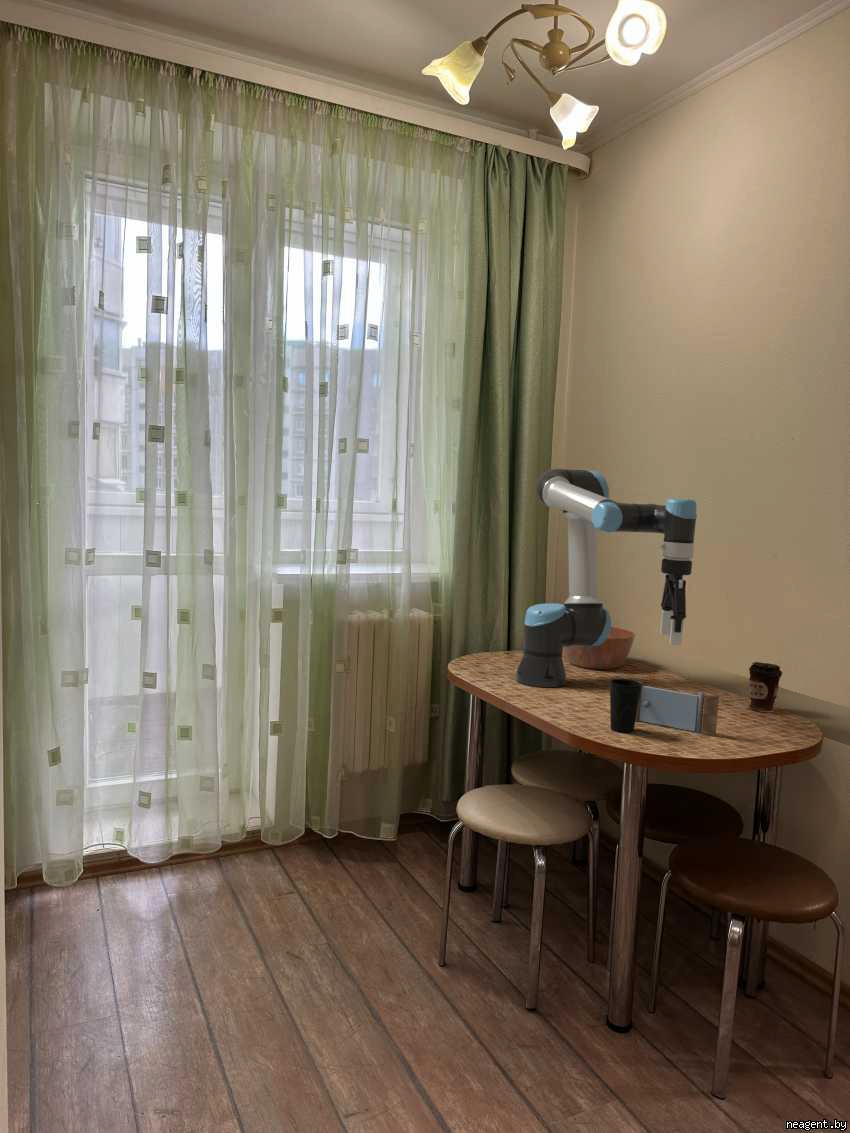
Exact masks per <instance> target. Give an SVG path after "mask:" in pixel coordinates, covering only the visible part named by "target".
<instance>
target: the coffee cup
mask: <svg viewBox="0 0 850 1133" xmlns="http://www.w3.org/2000/svg"><path fill="white" fill-rule="evenodd" d="M748 671H749V672H748V673H749V680H748V681H749V683H748V684H749V686H748V688H749V691H748V692H749V696H748V697H749V699H750V703H749V706H748V708H750V709H751V710H754V711H757V712H760V713H761V712H762V713H774V712H775V711H774V705H775V701H776V699H777V696H778V692H779V688H780V687H779V686H780V685H779V684H780V679H781V677H782V675H783V671H782V670H781V667H780V666H779V665H777V664H775V663H773V664H772V663H768V662H760V661H759V662H758V661H754V662H752V664H751V665H750V667H749V668H748Z"/></svg>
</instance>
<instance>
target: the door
mask: <svg viewBox="0 0 850 1133" xmlns="http://www.w3.org/2000/svg"><path fill="white" fill-rule="evenodd" d="M705 694H706V693H705V692H701V691H700V692H698V694H693V693H688V692H683V691H682V692H681V691H675V690H671V689H670V690H669V689H664V688H658V687H653V686H645V685H642V695H641V707H640V719H639V721H638V722H643V723H650V724H653V725H654V724H655V725H660V726H665V727H670V728H675V729H680V730H686V731H691V732H695V733H696V734H701V733H702V722H703V711H704V700H705Z"/></svg>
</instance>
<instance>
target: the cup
mask: <svg viewBox="0 0 850 1133" xmlns="http://www.w3.org/2000/svg"><path fill="white" fill-rule="evenodd" d="M637 681H638V680H633V679H628V678H614V679H611V680H610V681H609V698H610V699H609V703H610V704H609V705H610V706H609V707H610V708H609V709H610V710H609V711H610V712H609V713H610V717H609V718H610V730H611V731H613V732H615V733H619V734H631V733H634V732H635V731H634V730H635V724H636V721H635V720H636V715H637V709H638V703H639V698H640V692H641V687H642V686H643V685H642V684H641V683H640V682H641V681H639V682H637Z"/></svg>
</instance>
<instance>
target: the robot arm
mask: <svg viewBox="0 0 850 1133" xmlns="http://www.w3.org/2000/svg"><path fill="white" fill-rule="evenodd" d="M534 492H535V496H536V497H537V500H538V501H539V502H540V504H542V505H544V506H545V507H549V508H551V509H554V510H555V509H561V510H562V512H563V513H562V515H563V516H564V517H565V518H566V519H567V525H568V526H567V536H568V537H567V541H568V543H567V544H568V598H567V599H566V600H565V601H564V604H561V603H556V602H555V603H548V602H547V603H538V604H534V605H531V606H529V607H527V608H528V609H527V610H526V612H525V617H524V618H525V619H524V637H523V651H522V657H521V659H520V662H519V663H518V667H517V669H516V672H515V681H516V682H518V683H520V684H522V685H526V686H530V687H538V688H539V687H540V688H560V687H563V686H566V684H567V673H566V670H565V666H564V661H563V647H584V646H585V647H591V646H598V645H601V644H602V643H604V641H605V640H606V639H607V638H608V636H609V633H610V629H611V627H612V618H611V615H610V612H609V611H608V610H607V609H605V608H604V607H603V603H604V602H603V601H602V600H601V599H600V598H599V596H598V553H597V551H598V547H597V546H598V545H597V544H598V540H597V539H598V538H597V536H598V535H597V530H598V531H601V532H607V533H611V532H612V533H613V532H614V533H617V532H619V533H624V532H625V533H650V534H663V544H661V545H660V549H662V556H663V557H664V558H663V559H661V567H660V572H661V573H662V574H665V581H664V582H665V583H664V586H663V592H662V598H661V603H660V607H661V610H662V611H661V622H660V632H659V633H660V635H661V636H670V637H669V638H670V639H669V645H671V646H672V645H673V646H682V640H683V630H684V629H683V628H684V620H685V619H686V618H687V611H686V610H687V608H686V607H687V606H686V604H687V603H686V601H687V600H686V587H687V586H686V585H687V582H686V579H683V577H684V576H690V575H691V574H692V568H693V561H692V560H691V559H693V558H694V548H695V547H694V546H695V543H694V542H695V532H696V522H697V517H698V514H697V507H698V506H697V502H696V501H695V500H694V499H690V498H689V499H688V498H686V499H685V498H668V499H667V501H666V505H662V504H655V503H646V504H645V503H625V502H618V501H615V500H613V499H610V488H609V485H608V481H607V480H606V478H605V477H604V476H603V474H601V473H600V472H598V471H593V470H589V469H565V468H554V469H553V468H552V469H549V470H547V471H545V472H543V473H541V475H540V476H539V477H538V479H537V481H536V482H535V487H534Z"/></svg>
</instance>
